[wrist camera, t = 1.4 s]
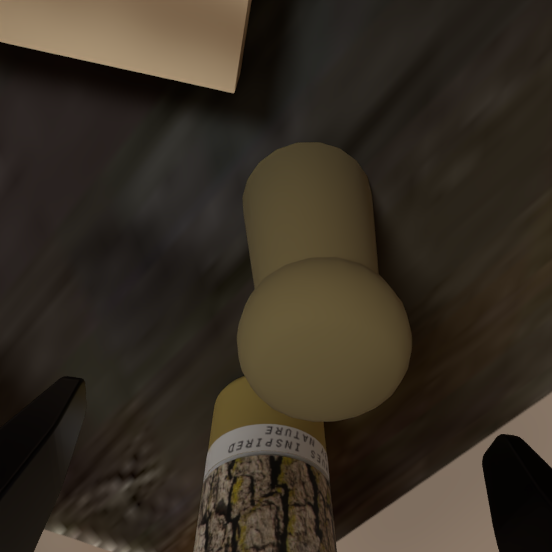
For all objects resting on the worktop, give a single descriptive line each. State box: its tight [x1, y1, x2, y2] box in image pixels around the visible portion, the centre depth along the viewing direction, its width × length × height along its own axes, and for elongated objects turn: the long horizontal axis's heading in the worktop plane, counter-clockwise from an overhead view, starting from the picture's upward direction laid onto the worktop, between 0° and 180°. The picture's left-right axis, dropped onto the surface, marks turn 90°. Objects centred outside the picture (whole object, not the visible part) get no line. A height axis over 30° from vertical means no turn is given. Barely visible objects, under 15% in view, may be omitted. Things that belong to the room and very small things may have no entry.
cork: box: [237, 142, 412, 422], centre depth 17 cm, size 6×6×11 cm
